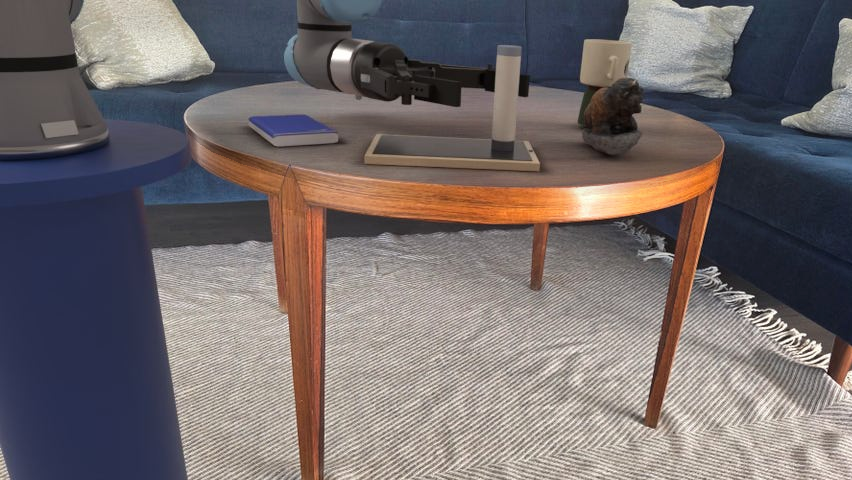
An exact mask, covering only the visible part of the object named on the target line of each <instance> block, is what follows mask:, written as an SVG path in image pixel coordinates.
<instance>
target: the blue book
mask: <svg viewBox="0 0 852 480" xmlns="http://www.w3.org/2000/svg"><path fill="white" fill-rule="evenodd" d="M248 127H249V128H251V129H252V130H253V131H254V132H256V133H257V134H258V135H260V136H261V137H262V138H263V139H265V140H266V141H268V142H269V143H270V144H271V145H273V146H274V147H293V146H295V147H296V146H307V145H308V146H309V145H322V144H323V145H325V144H335V143H338V142H339V134H338V133H339V132H338V131H337V130H336V129H333V128H331V127H330V126H328V125H325V124H323V123H322V122H321V121H318V120H316V119H314V118H313V117H311V116H309V115H307V114H282V115H281V114H280V115H258V116H250V117H248Z"/></svg>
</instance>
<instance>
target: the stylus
mask: <svg viewBox="0 0 852 480" xmlns="http://www.w3.org/2000/svg"><path fill="white" fill-rule="evenodd" d="M522 48H523V47H522V46H520V45H513V44H511V45H510V44H498V45H497V47H496V63H495V68H496V78H495V92H494V97H493V111H492V130H491V139H492V143H491V149H492V150H495V151H501V152H509V151H513V150H514V142H515V141H516V140H515V139H516V126H517V114H518V101H519V96H518V89H519V76H520V74H521V61H522Z"/></svg>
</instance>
